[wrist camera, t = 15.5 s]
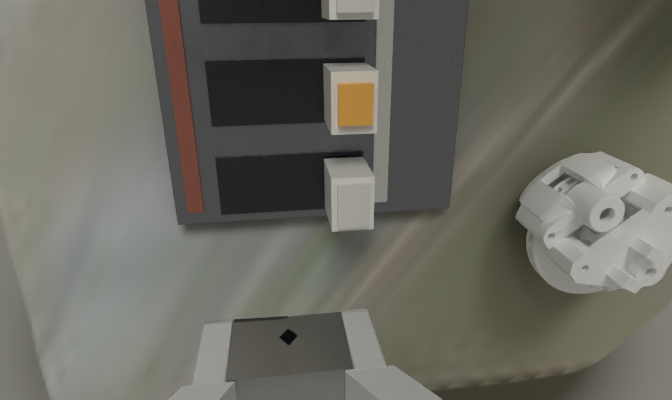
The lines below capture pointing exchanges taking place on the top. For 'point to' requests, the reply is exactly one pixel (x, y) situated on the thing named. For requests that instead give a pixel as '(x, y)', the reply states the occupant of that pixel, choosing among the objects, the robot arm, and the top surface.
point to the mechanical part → (597, 225)
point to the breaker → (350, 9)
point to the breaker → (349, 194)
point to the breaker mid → (350, 98)
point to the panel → (302, 103)
